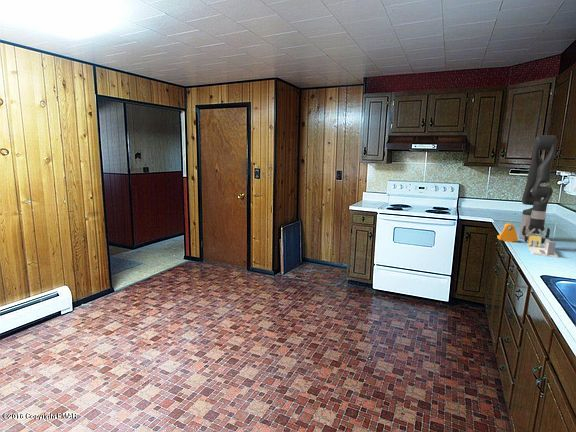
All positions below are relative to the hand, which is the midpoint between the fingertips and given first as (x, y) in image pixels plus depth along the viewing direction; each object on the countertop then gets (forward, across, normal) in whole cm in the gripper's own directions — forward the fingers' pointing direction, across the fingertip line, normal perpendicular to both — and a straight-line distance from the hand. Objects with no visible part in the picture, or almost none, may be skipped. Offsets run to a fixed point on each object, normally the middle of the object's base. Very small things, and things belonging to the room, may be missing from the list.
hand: (533, 242), depth 220 cm
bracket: (+3, +14, -13) cm, 19 cm away
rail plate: (+3, -4, +6) cm, 8 cm away
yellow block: (+1, 0, 0) cm, 1 cm away
